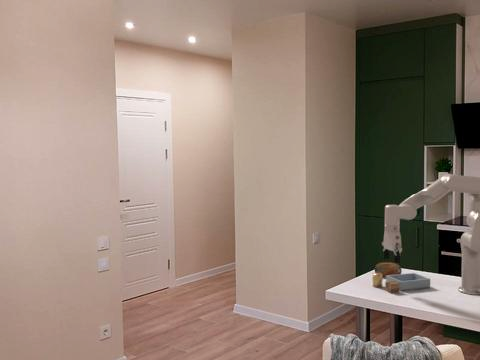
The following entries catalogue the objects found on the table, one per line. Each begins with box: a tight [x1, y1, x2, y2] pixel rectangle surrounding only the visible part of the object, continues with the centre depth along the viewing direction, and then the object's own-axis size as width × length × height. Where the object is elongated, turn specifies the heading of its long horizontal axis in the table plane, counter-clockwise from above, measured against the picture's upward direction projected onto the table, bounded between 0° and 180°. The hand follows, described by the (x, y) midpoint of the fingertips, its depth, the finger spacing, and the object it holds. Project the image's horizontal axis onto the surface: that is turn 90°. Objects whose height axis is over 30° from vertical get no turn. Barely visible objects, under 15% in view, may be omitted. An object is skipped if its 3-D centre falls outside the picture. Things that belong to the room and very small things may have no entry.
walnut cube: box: [384, 281, 400, 294], centre depth 256 cm, size 5×5×5 cm
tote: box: [385, 272, 431, 292], centre depth 266 cm, size 14×18×5 cm
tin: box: [374, 262, 402, 278], centre depth 286 cm, size 15×3×8 cm, turn 73°
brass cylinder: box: [372, 272, 383, 289], centre depth 266 cm, size 5×5×7 cm
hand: (391, 260), depth 256 cm, fingers open, 9 cm apart
